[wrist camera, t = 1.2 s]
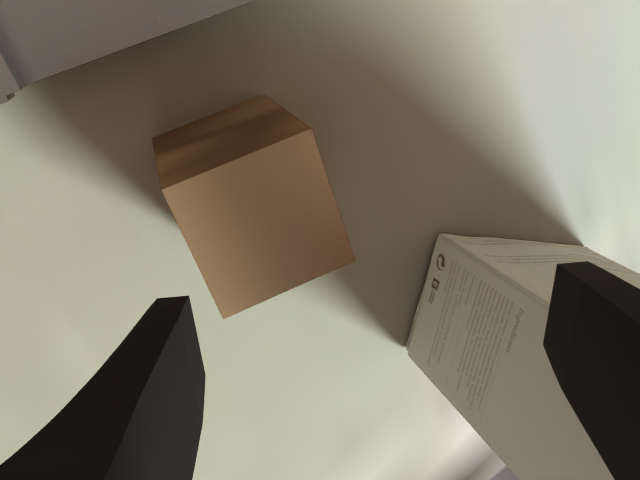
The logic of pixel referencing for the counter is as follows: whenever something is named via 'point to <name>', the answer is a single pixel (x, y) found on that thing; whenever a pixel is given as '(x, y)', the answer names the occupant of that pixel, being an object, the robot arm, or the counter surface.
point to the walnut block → (252, 202)
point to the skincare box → (504, 350)
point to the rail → (84, 32)
